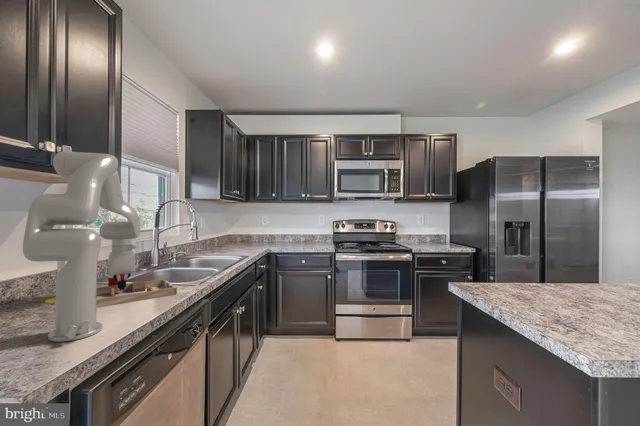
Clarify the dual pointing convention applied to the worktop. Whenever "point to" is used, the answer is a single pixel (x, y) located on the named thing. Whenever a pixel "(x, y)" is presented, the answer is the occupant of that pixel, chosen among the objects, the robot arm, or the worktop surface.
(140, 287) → the block
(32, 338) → the worktop surface
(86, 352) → the worktop surface
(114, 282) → the beverage can
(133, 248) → the robot arm
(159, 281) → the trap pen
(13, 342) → the worktop surface
